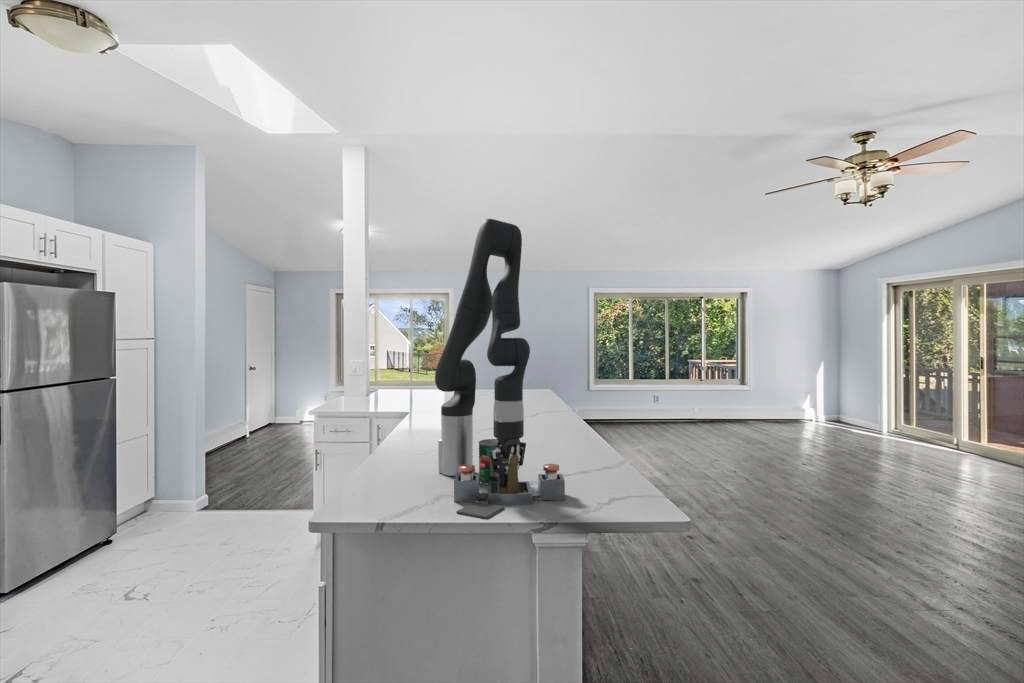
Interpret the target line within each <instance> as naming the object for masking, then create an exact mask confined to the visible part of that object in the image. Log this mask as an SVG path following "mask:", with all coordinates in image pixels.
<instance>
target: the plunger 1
mask: <svg viewBox="0 0 1024 683" xmlns="http://www.w3.org/2000/svg"><path fill="white" fill-rule="evenodd" d="M475 471H476V466H475V465H474V464H473V465H461V466H459V472H461V480H473V475H474V472H475Z"/></svg>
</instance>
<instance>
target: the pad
mask: <svg viewBox="0 0 1024 683" xmlns="http://www.w3.org/2000/svg"><path fill="white" fill-rule="evenodd" d="M503 510H505V506H503V505H500V504H488V502H486V503H485V502H481V501H479V502H470V504H467V505H466V506H463V507H462V508H460V509H458V510H456V514H459V515H464V516H468V517H474V518H479V519H484V520H488V519H489V518H491V517H493V516H494V515H497V514H498V513H499V512H501V511H503Z"/></svg>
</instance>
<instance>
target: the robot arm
mask: <svg viewBox="0 0 1024 683" xmlns="http://www.w3.org/2000/svg"><path fill="white" fill-rule="evenodd" d="M522 246H523V238H522V231H521V229H520V227H519V226H517V225H515V224H514V223H513V224H512V223H511V222H510V223H509V222H506V221H502V220H498V219H493V218H486V219H484V220H483V221H482V223H481V224H480V225H479V228H478V232H477V235H476V238H475V242H474V247H473V250H472V251H473V252H472V256H471V259H470V260H471V262H470V265H469V266H470V267H469V268H468V269H469V270H468V274H467V277H466V280H465V284H464V287H463V289H462V293H461V296H460V299H459V302H458V306H457V307H456V308H457V309H456V311H455V312H456V313H455V316H454V320H453V323H452V325H451V329H450V332H449V336H448V338H447V341H446V344H445V346H444V348H443V350H442V352H441V355H440V358H439V359H438V362H437V365H436V369H435V374H434V382H435V385H436V388H437V389H438V390H439V391H441V392H445V393H448V392H451V393H452V392H454V393H453V396H452V397H451V398H450V399H449V400H447V401H446V402H444V403H443V404H442V405H441V407H440V414H441V416H440V418H441V419H440V420H441V423H440V424H441V426H440V427H441V430H440V432H441V433H440V435H441V436H440V437H441V438H440V439H439V440H438V445H437V446H438V450H437V451H438V452H437V453H438V462H437V463H438V473H439V474H440V473H441V474H442V475H444V476H450V477H455V476H456V475H461V472H459V466H461V465H474V459H473V458H474V450H473V448H474V447H473V445H474V441H473V440H474V438H473V437H474V436H473V434H474V432H473V430H474V428H473V427H474V426H473V418H474V416H473V415H474V414H473V413H474V412H473V411H474V410H473V409H474V407H475V404H476V388H477V374H476V373H477V372H476V368H475V366H474V364H473V363H472V361H471V360H469V359H463V356H464V354H465V352H466V351H467V349H468V348H469V347H470V346H471V344H473V343H474V341H475V340H476V339H477V338H478V337H480V335H481V334H482V333H483V331H484V330H485V328H486V326H487V324H488V322H489V319H490V316H492V322H491V323H492V327H491V334H490V337H489V338H490V339H489V343H488V347H487V351H486V357H487V361H488V362H489V363H490V364H491V365H492V366H494V367H514V368H513V369H512V371H511V372H510V373H508V374H505V375H501V376H497V377H496V378H495V379H494V400H493V401H494V404H493V437H494V439H498V442H497V448H496V449H495V450H494V451H493V450H491V451H490V457H491V462H492V467H493V471H494V473H499V487H503V488H505V487H506V489H507V484H508V471H509V467H508V465H510V460H511V457H512V454H516V455H517V456H518V458H519V463H518V466H517V474H518V475H519V473H518V472H519V470H520V467H523V464H524V459H525V453H526V447H527V443H526V442H523V441H521V440H520V439H521V438H523V437H524V434H525V432H524V431H525V429H524V426H525V424H524V422H525V418H524V417H525V416H524V411H525V408H524V400H523V399H524V398H523V396H524V394H523V389H524V388H523V386H524V385H523V384H524V379H525V373H526V369H527V365H528V362H529V358H530V355H531V347H530V344H529V342H528V341H527V340H526V339H525V338H522V337H502V335H503V334H505V333H510V332H513V331H516V330H517V329H519V328H520V326H521V313H520V299H519V285H520V284H519V283H520V275H521V274H520V273H521V261H522ZM490 256H492V257H493V256H494V257H498V258H503V259H504V271H503V274H502V276H501V278H500V279H499V281H498V283H497V285H496V286H495V288H494V290H493V293H492V290H491V286H490V283H489V279H488V271H487V270H488V264H489V259H490ZM502 458H505V459H507V461H502ZM503 464H505V469H504V466H503ZM497 465H498V468H497Z"/></svg>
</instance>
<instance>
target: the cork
mask: <svg viewBox="0 0 1024 683" xmlns="http://www.w3.org/2000/svg"><path fill="white" fill-rule="evenodd" d="M502 461H507V459H505V458H502ZM519 461H520V460H519V458H518V456H517V455H516V454H512V457H511V460H510V465H508V467H509V471H508V484H507V489H506V487H505V488H503V487H499V481H498V489H497V492H496V493H521V492H520V489H519V482H520V481H519V476H518V475H519V473H518V474H517V466H518V463H519ZM503 466H504V469H505V464H503Z"/></svg>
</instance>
